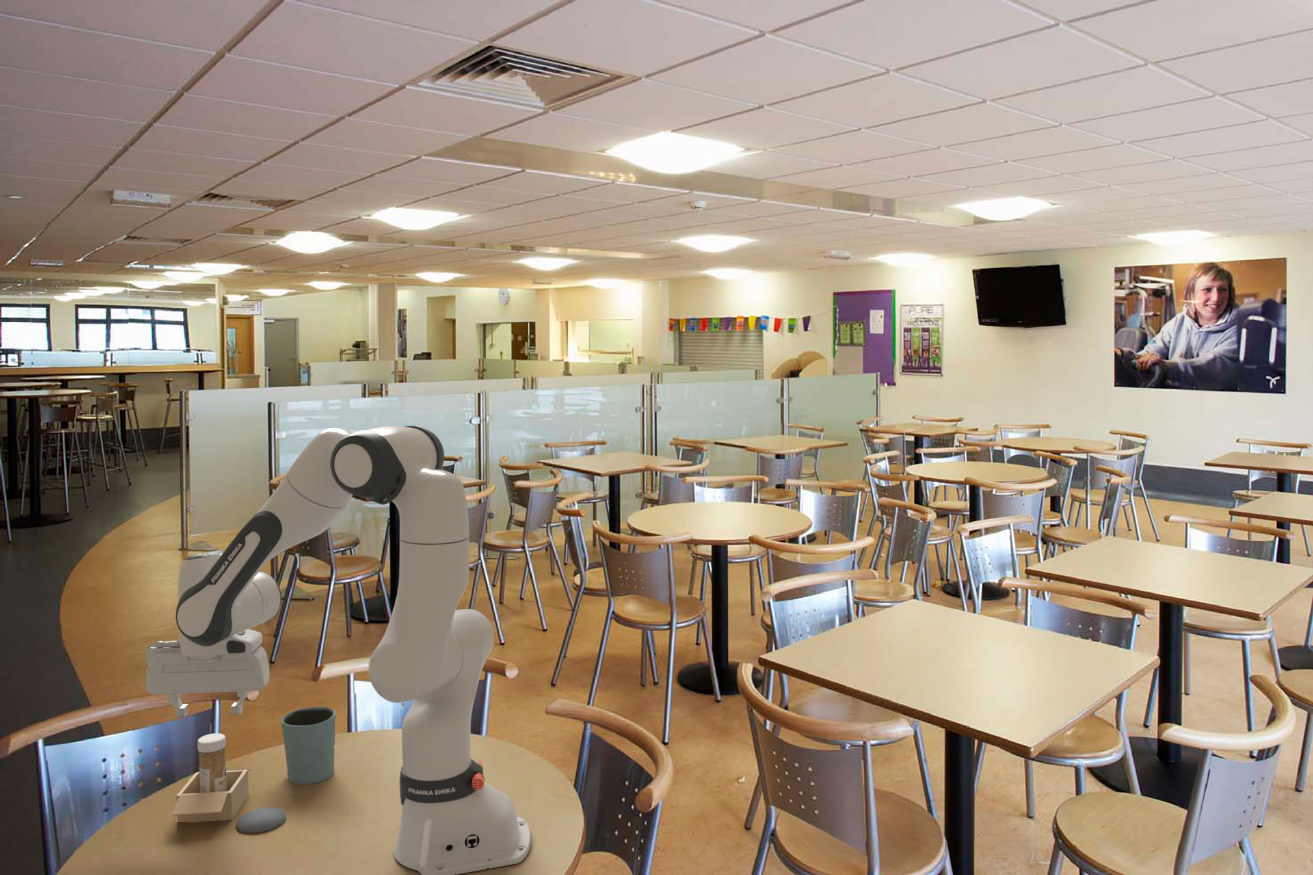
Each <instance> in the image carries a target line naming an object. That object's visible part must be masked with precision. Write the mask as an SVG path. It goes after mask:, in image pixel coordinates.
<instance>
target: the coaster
mask: <svg viewBox="0 0 1313 875" xmlns="http://www.w3.org/2000/svg"><path fill="white" fill-rule="evenodd" d="M286 820H287V813H286V811H285V810H284V809H283V808H281V807H274V806H271V807H270V806H267V807H260V808H257V809H253V810H251V811H249V812H246V813H243V815H241V816H240V817H239V818H238V819H237V821H236V828H237V830H238V831H239V832H240V833H244V834H259V833H260V834H261V833H265V832H269V831H272V830H274V829H277V828H278V827H280V826H281V825H283V824H284V822H286Z"/></svg>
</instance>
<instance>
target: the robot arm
mask: <svg viewBox="0 0 1313 875" xmlns="http://www.w3.org/2000/svg"><path fill="white" fill-rule="evenodd" d="M444 462H445V450H444V447H443V444H442V442H441V440H440V439H439V437H438V436H437V435H436V434H435V433H433V432H432V431H431V430H429V429H426V428H424V427H421V426H416V425H404V426H392V425H385V426H377V427H374V428H370V429H361V430H360V429H359V430H357V431H355V432H352V431H350V430H347V429H344V428H341V427H340V428H339V427H330V428H326V429H324V430H322V431H320V432H319V433H318V434H317V435H316V436H315V437H313V439H311V441H310V442H309V443H308V444H307V446H305V447H304V449H303V450H302V451H301V453H300V454H299V455H298V457H296V459H295V460H294V462H293V463H292V465H291V466H290V467H289V469H288V471H287V472H286V473H285V476H283V479H281V482H279V485H278V486H277V487H276V489H275V490H274V491H273V492H272V494H271V495H270V496H269V498H267V500H266V502H265V503H264V504H263V505H262V506H261V507H260V508H259V510H258V511H257V512H256V513H255V514H254V515H253V516H252V517H251V518H250V519H249V521H248V522H247V523H246V524H245V525H244V526H243V527H242V528H241V530H239V532H238V533H237V534H236V536H234V538H233V540H232V541H231V542H230V544H229V545H228V546H227V547H226V548H225V550H223V549H220V550H219V549H218V550H217V549H216V550H209V551H205V552H200V553H197V554H192V555H189V556H187V557H186V558H184V560H183V561H182V562H181V565H180V566H179V567H180V568H179V573H178V581H177V582H178V583H177V584H178V586H177V588H178V590H177V592H178V593H177V594H178V596H177V598H178V600H177V601H178V602H177V605H176V609H175V622H176V625H177V628H178V630H179V640H169V641H164V640H163V641H161V640H160V641H155V642H154V643H152V644H151V645H148V647H147V649H146V651H145V661H146V664H147V670H146V676H145V677H146V678H145V689H146V690H145V691H146V692H148V693H149V694H150V695H167V696H168V697H167V698H168V701H169V702H170V704H171V705H172V706H173V708H174V709H175V717H176V718H179V717H180V718H182V717H187V715H188V713H189V710H188V708H189V704H188V703H187V704H186V703H183V701H182V700H181V698H180V696H181V695H182V694H200V693H201V694H202V693H205V694H206V693H207V694H208V693H228V692H229V693H230V692H236V695H237V696H236V697H237V698H239V699H238V701H235V702H233V703H232V704H231V705H230V711H231V712H230V714H231V716H233V715H234V716H235V715H236V716H237V715H240V716H241V714H243V707H244V706H243V705H244V704H243V703H244V702H245V700H246V698H247V697H248V695H249V692H257V691H258V692H260V691H262V690H263V689H264V688H265V687H266V686H267V685H268V683H269V681H270V667H269V665H270V664H269V660H268V654H267V652H266V650H265V648H264V647H263V646H262V645H261V644H262V642H263V634H262V632H260V631H258V630H253V629H252V628H253V627H254V628H255V627H256V626H258V625H262V624H264V623H266V622H268V621H270V620H272V619H273V618H274V617H275V616H277V614H278V612H279V610H280V609H281V604H282V591H281V587H280V586H279V584H278V582H277V581H276V578H274V577H273V576H272V575H271V574H269V573H268V572H265V571H261V569H262V568H263V567H264V566H265V565H266V564H267V563H268V562H269V561H270V560H272V559H274V558H275V557H276V556H278V555H280V554H281V553H283V552H285V551H286V550H289V549H290V548H293V547H295V546H297V545H299V544H302V543H303V542H306V541H309V540H310V539H313V538H316V537H317V536H319V535H321V534H323V533H324V532H325V531H326V530H328V529H329V528H330V526H332V525H333V524H334V522H336V520H338V518H339V517H340V515H341V514H343V511H344V510H345V508H346V507H347V505H348V504H349V502H350V501H351V499H352V497H353V496H356V497H360V498H364V499H367V500H369V501H372V502H374V503H376V504H379V505H382V506H383V505H388V504H390V503H391V502H392V503H393V504H394V505H395V507H396V509H398V510H397V511H398V515H399V575H398V577H399V578H398V579H399V580H398V587H397V595H396V598H395V602H394V606H393V609H392V611H391V612H392V613H391V615H390V618H389V622H388V625H387V627H386V630H385V632H384V634H383V636H382V638H381V640H380V641H379V643H378V645H376V648H375V649H374V650H373V652H372V653H371V655H370V657H369V661H368V676H369V680H370V681H369V682H370V683H371V686H372V687H373V689H374V690H375V691H376V693H377V694H378V696H380V697H381V698H383V699H384V700H386V701H388V702H391V703H395V704H396V703H397V704H399V703H404V702H406V703H407V702H411V701H413V702H412V704H411V706H410V707H409V709H408V711H407V713H406V714H405V716H404V717H403V721H402V725H401V744H402V745H401V747H402V748H401V753H402V755H401V756H402V759H401V760H402V766H401V768H400V771H399V773H400V774H399V776H398V777H399V780H398V781H399V787H398V788H399V798H400V804H401V814H400V824H399V831H398V834H397V838H396V843H395V846H394V850H393V855H394V858H395V860H396V861H397V863H399V864H400V865H402V866H404V867H406V868H409V869H412V870H415V871H417V872H419V873H420V875H455V874H456V875H460V874H467V873H471V872H477V871H483V870H488V869H487V868H489V869H493V868H499V867H505V866H510V865H515V864H519V863H521V862H522V861H523V860H524V859H525V858H526V857H527V855H528V854H529V851H530V849H531V844H532V842H531V841H532V836H531V835H532V834H531V830H530V826H529V823H528V822H527V821H526V820H525V819H524V818H522V817H520V816H517V812H516V809H515V806H514V802H513V801H512V799H511V797H510V796H509V795H508V794H506V793H504V792H502V791H501V790H499V789H497V788H496V787H494V786H492V785H490V784H489V783H487V782H486V781H485V776H484V767H483V765H482V764H483V763H482V760H481V759H479V760H478V762H476V761H474V760H473V759H472V758H471V732H472V731H471V726H472V724H471V723H472V714H473V708H474V702H475V698H476V694H477V690H478V685H479V682H480V678H481V675H482V671H483V667H484V666H485V663H486V661H487V659H488V657H489V655H490V654H491V653H492V651H493V649H494V645H495V632H494V629H493V625H492V624H491V621H489V619H488V618H487V617H486V616H485V615H484V614H483V613H482V612H480V611H479V610H476V609H473V608H464V609H463V608H462V609H458V605H459V603H460V600H461V598H462V596H463V595H464V593H465V592H466V590H467V588H468V585H469V581H470V524H469V523H470V521H469V520H470V519H469V510H468V503H467V502H468V501H467V496H466V491H465V487H464V483H463V482H462V479H460V478H459V477H458V476H457V475H456V474H454V473H452V472H450V471H448V470H444V469H442V468H443V466H444Z"/></svg>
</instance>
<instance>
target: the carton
mask: <svg viewBox="0 0 1313 875" xmlns="http://www.w3.org/2000/svg"><path fill="white" fill-rule="evenodd" d="M251 770H252V769H251V768H238V769H237V768H235V769H233V768H232V769H226V782H227V789H226V790H227V791H225V792H208V793H200V775H199V771H198V772H195V773H194V774H193V775H192V776H191V777H190V779H189V780H188V781H187V782H186V784H185V785H184V786H183V787H182V789H181V790H179V792H178V793H177V795H176V796H175V797H176V803H175V806H174V809H173V812H172V814H171V816H173V817H174V816H176V817H177V818H176V820H177V822H188V823H202V822H217V821H232V820H233V819H234V818H235V816H236V815H237V813H238V812H239V810H240V809H241V807H242V806H243V804H245V801H246V800H247V798H248V797H249V796H250V794H249V793H250V792H249V789H250V788H249V771H251Z"/></svg>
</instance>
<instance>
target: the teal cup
mask: <svg viewBox="0 0 1313 875" xmlns="http://www.w3.org/2000/svg"><path fill="white" fill-rule="evenodd" d="M336 715H337V714H336V711H335V709H334V708H330V707H326V706H313V707H311V706H310V707H304V708H300V709H296V710H293V711H290V712H288V713H286V714H285V715H283V716H282V718H281V720H280V723H281V731H282V738H283V743H284V744H283V745H284V751H285V753H284V754H285V759H286V760H285V763H286V773H287V774H286V775H287V780H288V781H289V782H290V783H292V784H294V785H307V786H308V785H313V784H317V783H321V782H323V781H326V780H327V779H329V778H330V777H332V776H333V774H334V771H335V743H336V742H335V740H336V720H337V716H336Z"/></svg>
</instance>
